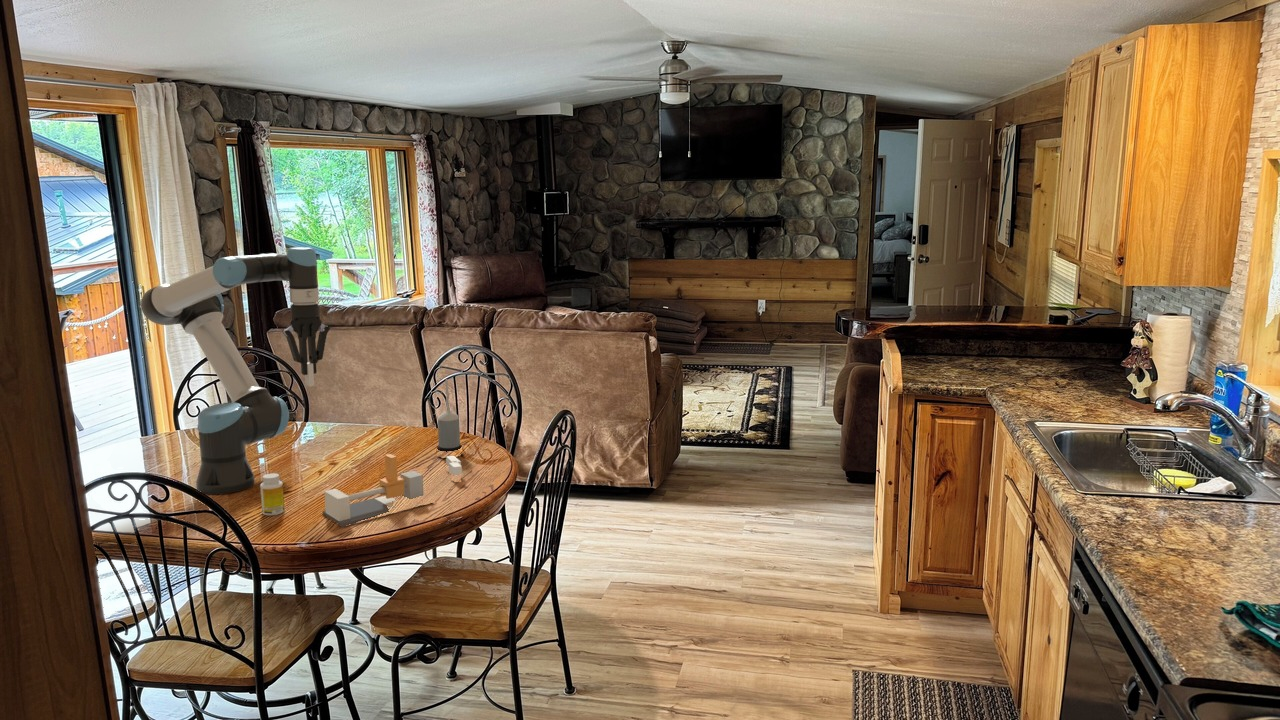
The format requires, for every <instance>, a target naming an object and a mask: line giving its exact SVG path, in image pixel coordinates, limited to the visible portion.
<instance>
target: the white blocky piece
mask: <svg viewBox="0 0 1280 720" xmlns="http://www.w3.org/2000/svg"><path fill="white" fill-rule="evenodd" d="M445 460H446V463H445V464H446V465H447V466H449V472H451V473H452V474H453V475H454V476H455V475H459V474H462V475H463V468H462V463H461V460H460V459H459V458H458V457H457V458H456V457H455V456H454V455H453V456H446V459H445ZM446 465H445V466H446Z"/></svg>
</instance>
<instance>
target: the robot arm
mask: <svg viewBox="0 0 1280 720" xmlns="http://www.w3.org/2000/svg"><path fill="white" fill-rule="evenodd" d="M273 281H283V282H285V281H287V282H288V283H289V284H288V286H289V302H290V303H291V305H290V317H291V321H290V322H289V326H288V327H287V328H284V329H282V330H281V332H282V333H283V335H284V336H285V337H286V340H287V343H288V347H289V350H290V353H291V356H292V359H293V361H294V362H296V363H299V364H300V368H301V369H300V370H301V374H302V375H303V376H304V382H305V383H304V384H305V386H307V387H309V388H310V387H314V386H315V375H314V374H316V375H317V363H318V362H319V361H321V360H323V359H324V358H323V357H324V353H325V347H326V342H327V336H328V335H327V334H328V333H329V331H330V330H331V329H330V328H331V327H330V326H328V325H325V324H324V323H322V320H321V319H320V316H321V315H320V313H321V311H320V304H319V303H318V302H319V301H320V298H319V297H320V296H319V295H320V294H319V284H318V283H319V282H318V281H319V280H318V261H317V253H316V250H315V249H314V248H313V247H299V246H298V247H289V248H288V249H287V250H286V253H276V252H275V253H274V252H266V253H264V252H263V253H259V254H252V255H234V256H233V255H227V256H226V257H225V256H224V257H220V258H218V259H216V260H215V262H214V263H213V265H212V266H210V267H208V268H206V269H203V270H200V271H198V272H195V273H193V274H191V275H189V276H186V277H185V278H182V279H180V280H177V281H175V282H173V283H170V284H167V283H164V284H159V285H157V286H154V287H152V288H150V289H148V290H147V291H146V292H144V294H143V295H142V297H141V300H140V309H141V311H142V314H143V315H144V317H145V318H146V319H148V321H150V322H152V323H154V324H156V325H160V326H171V325H172V326H174V325H181V327H182V329H183V330H184V332H185V333H186V334H189V335H191V336H193V337H194V338H195V340H196V342H197V344H198V345H199V347H200V349H201V351H202V352H203V354H204V356H205V357H206V359H207V361H208V362H209V364H210V366H211V368H212V369H213V371H214V372H215V375H217V378H218V379H219V381H220V383H221V385H222V386H223V388H224V390H225V391H226V393H227V395H228V396H229V398H230V400H231V402H230V401H229V402H223V403H215V404H213V405H210V406H208V407H205V408H204V409H201V411H200V412H199V413H198V416H197V427H196V428H197V430H198V440H199V450H200V451H199V452H200V466H199V469H198V473H197V478H196V481H195V483H196V484H195V485H196V491H197V490H199V491H201V492H202V493H201V494H205V495H226V494H232V493H233V494H234V493H237V492H241V491H245V490H247V489H249V488H251V487H253V486H254V485H255V483H256V481H255V475H254V472H253V470H252V467H251V465H250V463H249V461H248V459H247V452H246V451H247V450H246V446H248V445H251V444H254V443H258V442H261V441H263V440H268V439H273V438H274V437H276V436H279V435H282V434H283V432H285V431H286V429H287V427H288V425H289V419H290V413H289V409H288V405H287V403H286V402H285V401H284V400H283V399H282V397H279V396H272V395H271V394H270V391H269V390H268V388H265V387H261V386H260V385H259V384H258V382H257V381H256V378H255V377H254V375H253V374H252V371H251V370H250V369H249V367H248V365H247V363H246V361H245V360H244V358H243V357H242V355H241V353H240V351H239V350H238V348H237V346H236V345H235V343H234V341H233V340H232V338H231V336H230V335H229V333H228V331H227V330H226V327H225V326H224V324H223V323H222V321H223V320H224V314H223V313H224V311H225V304H223V303H224V299H223V296H222V293H225V292H228V291H229V290H233V289H234V288H237V287H239V286H242V285H246V284H254V283H262V282H273ZM318 331H319V332H318ZM294 332H295V334H296V335H297V339H298V345H297V342H296V339H295V337H294ZM317 332H318V336H317ZM316 339H317V341H316ZM316 342H317V343H316ZM308 361H309V362H308Z"/></svg>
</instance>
